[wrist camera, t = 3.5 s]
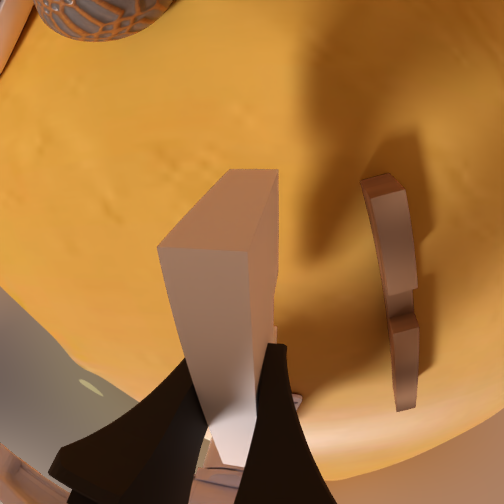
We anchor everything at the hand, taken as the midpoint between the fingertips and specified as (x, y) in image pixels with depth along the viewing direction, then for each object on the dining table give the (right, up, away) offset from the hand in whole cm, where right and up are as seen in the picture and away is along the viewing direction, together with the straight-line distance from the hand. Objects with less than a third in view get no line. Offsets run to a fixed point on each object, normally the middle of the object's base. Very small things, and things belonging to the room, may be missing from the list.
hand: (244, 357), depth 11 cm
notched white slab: (+1, +2, +3) cm, 3 cm away
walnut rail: (+11, 0, +8) cm, 14 cm away
